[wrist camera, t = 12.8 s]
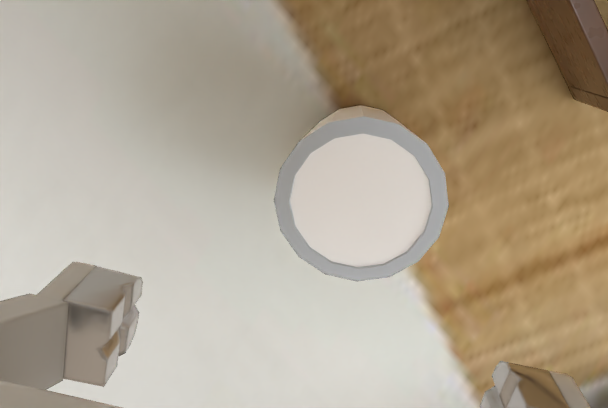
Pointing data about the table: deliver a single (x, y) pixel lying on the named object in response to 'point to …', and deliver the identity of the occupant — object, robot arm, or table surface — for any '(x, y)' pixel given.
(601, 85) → the crate
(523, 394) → the robot arm
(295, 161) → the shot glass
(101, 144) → the table surface
